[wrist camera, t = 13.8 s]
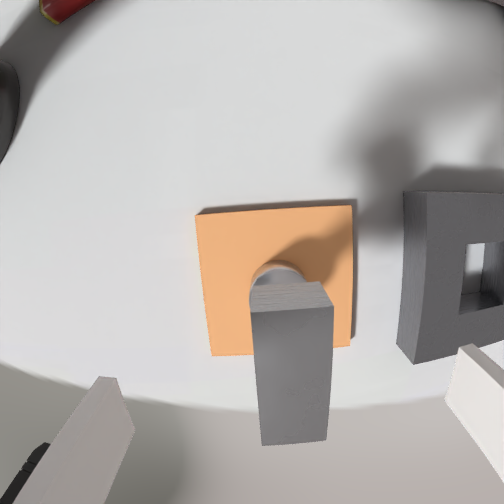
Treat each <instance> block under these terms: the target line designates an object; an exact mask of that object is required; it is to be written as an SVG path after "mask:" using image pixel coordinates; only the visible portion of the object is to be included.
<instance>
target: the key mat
mask: <svg viewBox="0 0 504 504" xmlns="http://www.w3.org/2000/svg"><path fill="white" fill-rule="evenodd" d="M195 223H196V233H197V243H198V252H199V262H200V270H201V279H202V287H203V295H204V303H205V311H206V318H207V326H208V333H209V340H210V347H211V354H212V356H236V355H254V350H253V339H252V327H251V315H250V307H249V293H250V284H251V279H252V277H253V275H254V273H255V272H256V270H257V269H258V268H259V267H260V266H262V265H263V264H265V263H267V262H269V261H273V260H285V261H288V262H291V263H293V264H295V265H296V266H297V267H298V268H299V269H300V270H301V271H302V273H303V274H304V276H305V279H306V281H307V282H317V281H320V283H321V285H322V286H323V288H324V290H325V291H326V293H327V295H328V296H329V298H330V300H331V302H332V303H333V305H334V333H333V348H337V347H345V346H350V337H351V318H352V289H353V228H352V205H334V206H313V207H295V208H278V209H263V210H249V211H235V212H222V213H210V214H199V215H195Z"/></svg>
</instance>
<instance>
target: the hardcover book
mask: <svg viewBox="0 0 504 504" xmlns="http://www.w3.org/2000/svg"><path fill="white" fill-rule="evenodd" d="M94 1H95V0H39V7H40V13H41V14H42V15H43V16H44V17H45V18H47V19H48V20H49V21H51V22H52V23H54V24H56V25H58V24H60V23H61V22H62V21H64V20H65V19H67V18H68V17H70V16H71V15H73V14H74V13H76V12H77V11H79V10H81V9H82V8H84V7H85V6H87V5H89V4H90V3H92V2H94Z"/></svg>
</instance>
